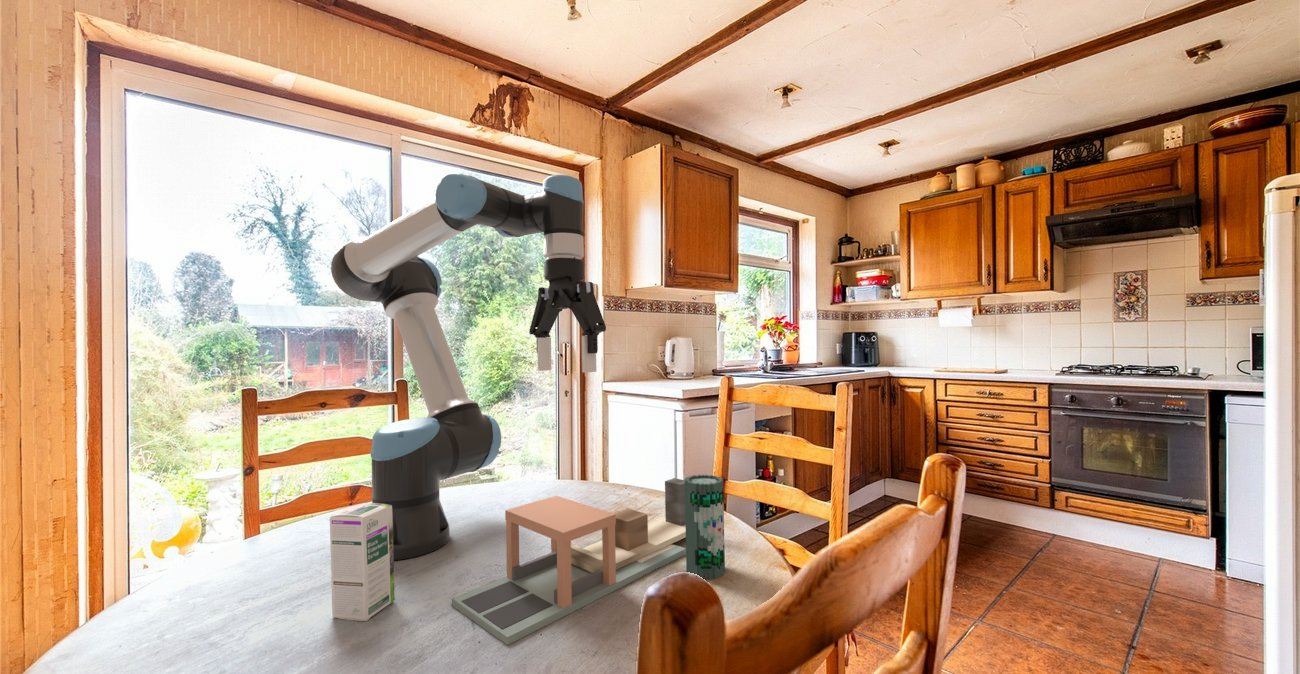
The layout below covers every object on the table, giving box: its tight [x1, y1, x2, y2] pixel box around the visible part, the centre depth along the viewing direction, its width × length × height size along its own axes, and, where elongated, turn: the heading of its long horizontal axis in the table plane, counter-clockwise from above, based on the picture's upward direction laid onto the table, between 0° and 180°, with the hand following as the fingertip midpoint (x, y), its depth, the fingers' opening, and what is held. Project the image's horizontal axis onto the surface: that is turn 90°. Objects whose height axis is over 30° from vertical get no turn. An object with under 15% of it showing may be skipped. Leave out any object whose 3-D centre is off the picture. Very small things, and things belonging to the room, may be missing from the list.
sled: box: [571, 477, 686, 573], centre depth 92 cm, size 9×26×9 cm, turn 137°
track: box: [451, 495, 686, 646], centre depth 82 cm, size 15×36×12 cm, turn 137°
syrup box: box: [329, 502, 396, 622], centre depth 73 cm, size 6×6×14 cm
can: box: [684, 474, 726, 580], centre depth 83 cm, size 6×6×15 cm
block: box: [613, 508, 649, 551], centre depth 90 cm, size 5×5×5 cm
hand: (565, 371), depth 95 cm, fingers open, 13 cm apart
